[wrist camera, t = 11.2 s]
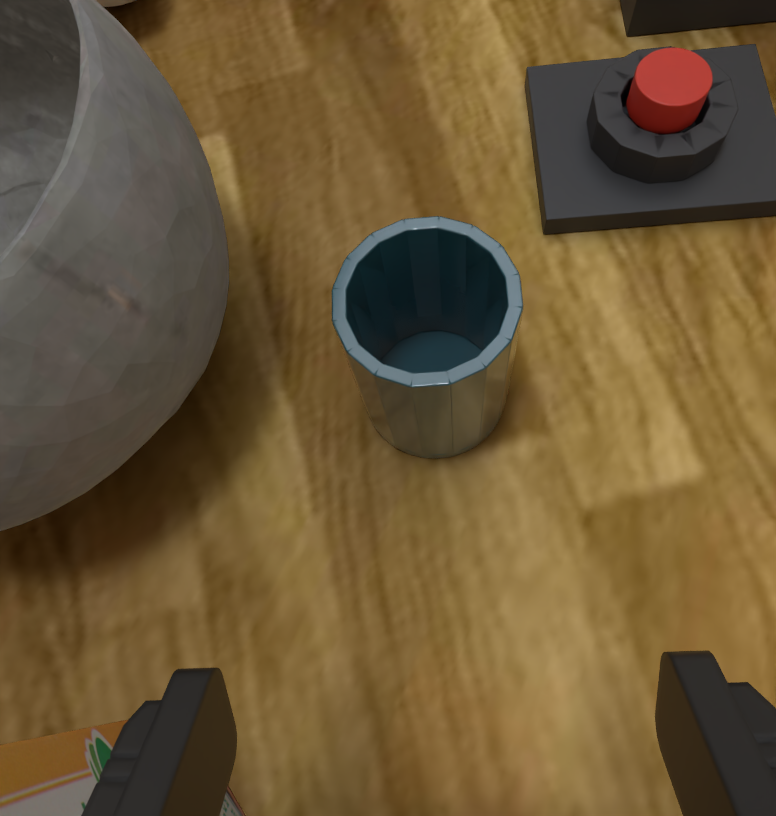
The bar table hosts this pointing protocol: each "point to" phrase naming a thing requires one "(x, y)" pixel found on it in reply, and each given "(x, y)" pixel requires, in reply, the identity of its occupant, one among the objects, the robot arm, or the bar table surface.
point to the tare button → (668, 90)
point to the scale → (692, 14)
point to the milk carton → (62, 772)
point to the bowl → (95, 253)
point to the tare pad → (650, 147)
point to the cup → (430, 332)
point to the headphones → (113, 2)
